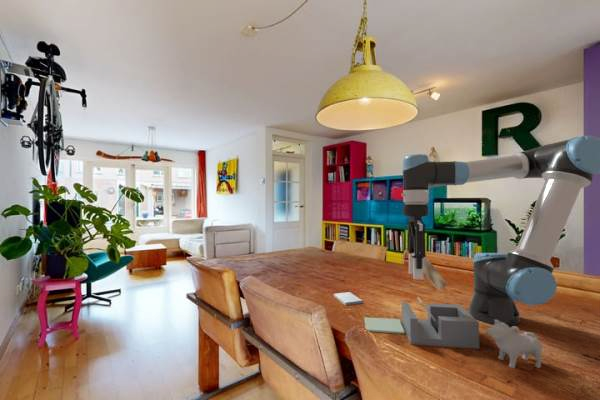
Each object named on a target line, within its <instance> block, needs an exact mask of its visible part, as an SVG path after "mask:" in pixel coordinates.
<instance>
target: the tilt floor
mask: <svg viewBox="0 0 600 400" xmlns="http://www.w3.org/2000/svg"><path fill="white" fill-rule="evenodd" d="M416 299H417V300H418V301H419V303H420V304H421V306H422V307H423V308H424V309H425V311H426V312H427V314H428V313H429V315H430V316H431V317H432V319H433V320H434V321H435V323H436V324H437V325H438V322H437V321H436V319H435V318H434V317H433V315H432V314H431V313H430V311H429V310H428V306H426V304H425V303H424V302H423V300H422V299H421V298H420V297H419V296H417V297H416Z"/></svg>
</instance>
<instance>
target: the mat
mask: <svg viewBox="0 0 600 400" xmlns="http://www.w3.org/2000/svg"><path fill="white" fill-rule="evenodd" d="M363 318H364V319H363V320H364V327H365V330H366V329H367V330H369V331H371V332H372V333H384V334H385V333H387V334H399V335H403V334H404V335H405V334H406V332H405V330H404V328H403V325H402V321H401V320H400V319H398V318H386V317H385V318H383V317H366V316H364V317H363ZM371 332H370V333H371Z"/></svg>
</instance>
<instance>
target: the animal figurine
mask: <svg viewBox="0 0 600 400" xmlns="http://www.w3.org/2000/svg"><path fill="white" fill-rule="evenodd" d="M494 321H495V324H492V325H491V327H487V329H486V332H487V334H488V335H489V336H490V337H491V338H492V339H494V340H495V341H494V342H495V344H496V346H497V347H498V348H499V355H498V356H497V359H498V360H501V361H502V360H504V359H505V356H506V355H507V356H508V358H509V363H508V367H509V368H512V369H515V368H516V364H517V360H518V357H519V356H520V355H522V357H521V358H522V359H523V360H525V361H526V360H527V361H528V360H529V357H530V355H532V356H533V357H534V360H535V364H534V366H535V368H539V369H540V368H541V366H542V351H543V345H542V344H541V341H540V340H539V339H538V338H537V335H535V333H534V332H529V331H528V332H527V331H524V332H523V333H520V328H519V327H518V326H517V325H511V327H510V325H506V324H505V323H503V322H500V321H499V320H494Z"/></svg>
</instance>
